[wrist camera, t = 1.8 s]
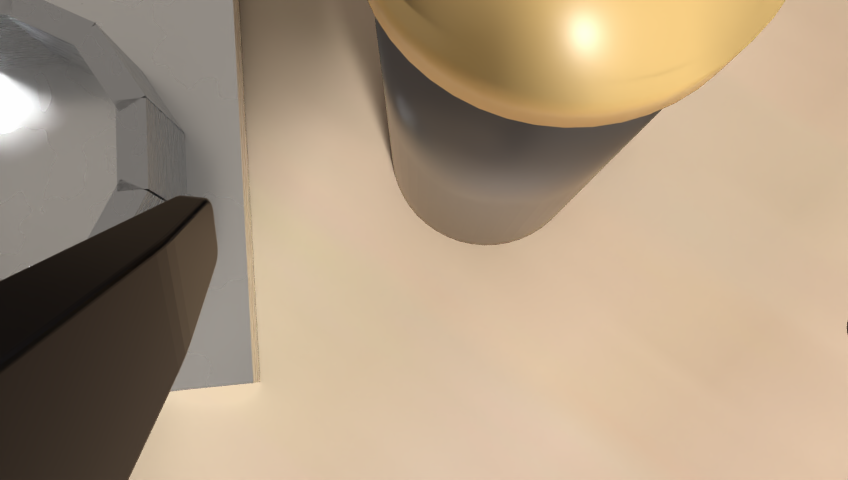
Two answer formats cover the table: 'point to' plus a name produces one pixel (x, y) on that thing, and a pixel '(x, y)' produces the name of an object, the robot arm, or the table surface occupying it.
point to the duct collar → (130, 144)
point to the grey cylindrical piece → (536, 96)
